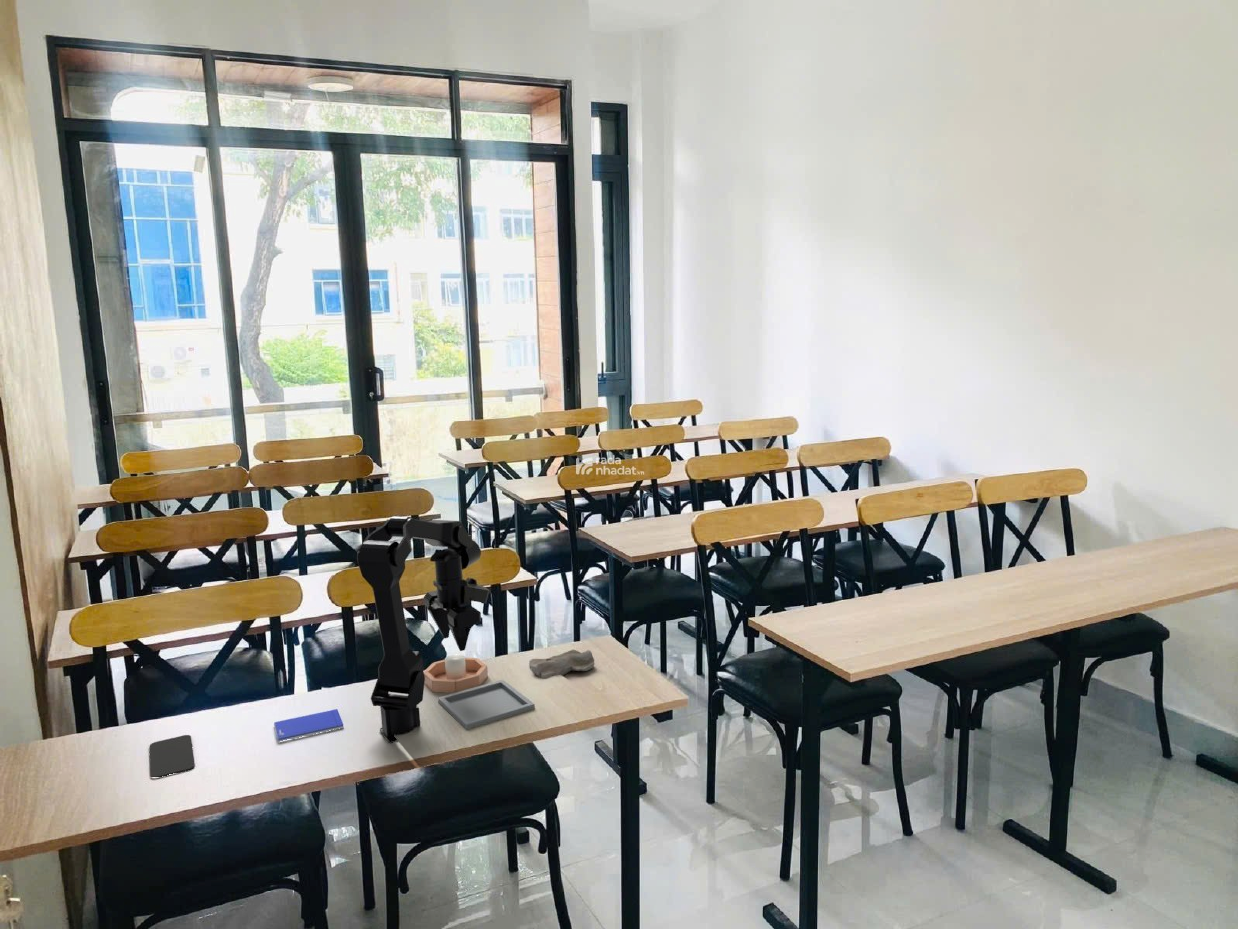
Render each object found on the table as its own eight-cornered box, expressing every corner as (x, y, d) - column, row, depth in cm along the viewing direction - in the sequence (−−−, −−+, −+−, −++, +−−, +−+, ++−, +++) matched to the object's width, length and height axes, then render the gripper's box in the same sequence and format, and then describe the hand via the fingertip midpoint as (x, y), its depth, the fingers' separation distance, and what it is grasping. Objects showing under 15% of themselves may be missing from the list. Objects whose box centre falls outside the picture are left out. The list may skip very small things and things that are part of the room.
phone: (150, 778, 158) (148, 743, 171) (150, 782, 158) (149, 747, 171) (195, 767, 161) (190, 733, 174) (195, 771, 161) (191, 737, 174)
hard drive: (277, 738, 170) (343, 723, 175) (273, 721, 177) (337, 707, 182) (278, 745, 170) (343, 731, 175) (274, 728, 177) (337, 714, 183)
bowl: (439, 702, 186) (438, 686, 185) (418, 681, 197) (417, 666, 196) (495, 686, 193) (494, 671, 192) (471, 667, 203) (470, 653, 203)
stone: (539, 686, 193) (538, 669, 192) (524, 671, 201) (523, 654, 200) (599, 673, 199) (599, 656, 198) (583, 658, 207) (582, 642, 207)
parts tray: (467, 734, 171) (466, 724, 171) (438, 706, 184) (438, 697, 183) (535, 713, 179) (534, 704, 179) (503, 688, 191) (502, 679, 191)
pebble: (451, 685, 191) (449, 663, 191) (443, 678, 195) (441, 657, 194) (469, 680, 194) (468, 658, 193) (461, 673, 197) (460, 652, 197)
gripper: (501, 579, 187) (505, 648, 190) (466, 560, 202) (471, 624, 205) (452, 590, 181) (457, 661, 184) (420, 569, 196) (425, 634, 199)
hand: (454, 644), depth 193 cm, fingers open, 9 cm apart
